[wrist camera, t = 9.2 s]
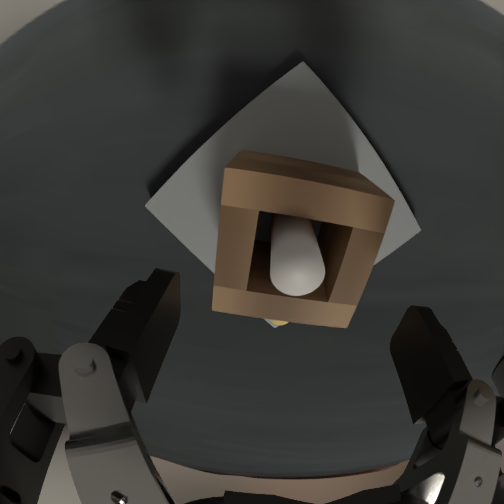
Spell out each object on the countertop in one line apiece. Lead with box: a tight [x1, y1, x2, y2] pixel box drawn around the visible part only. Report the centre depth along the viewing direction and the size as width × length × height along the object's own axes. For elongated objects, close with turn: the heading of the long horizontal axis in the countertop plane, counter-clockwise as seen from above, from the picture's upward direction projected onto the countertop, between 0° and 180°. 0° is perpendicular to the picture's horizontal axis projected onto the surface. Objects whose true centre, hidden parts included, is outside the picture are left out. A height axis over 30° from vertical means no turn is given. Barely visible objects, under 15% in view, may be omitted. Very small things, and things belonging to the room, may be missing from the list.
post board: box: [145, 62, 421, 328], centre depth 13 cm, size 12×12×7 cm
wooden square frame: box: [212, 150, 395, 328], centre depth 13 cm, size 6×6×5 cm
